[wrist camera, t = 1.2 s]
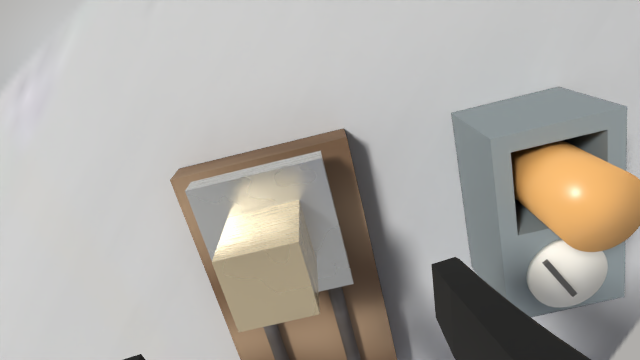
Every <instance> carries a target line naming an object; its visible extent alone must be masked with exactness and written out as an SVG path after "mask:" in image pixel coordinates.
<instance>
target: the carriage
mask: <svg viewBox="0 0 640 360" xmlns="http://www.w3.org/2000/svg"><path fill="white" fill-rule="evenodd" d="M185 193H186V195H187V198H188V200H189V203H190V206H191V208H192V211H193V214H194V216H195V219H196V221H197V224H198V227H199V229H200V232H201V234H202V237H203V240H204V242H205V245H206V247H207V250H208V253H209V255H210V258H211V260H212V265H213V267H214V270H215V272H216V275H217V278H218V280H219V283H220V285H221V288H222V291H223V293H224V296H225V298H226V301H227V304H228V306H229V309H230V311H231V314H232V317H233V319H234V322H235V324H236V327H237V330H238V332H243V331H247V330H252V329H256V328H261V327H265V326H270V325H274V324H279V323H283V322H288V321H292V320H296V319H301V318H305V317H310V316H314V315H319V314H320V306H319V292H320V291H324V290H329V289H333V288H338V287H342V286H346V285H351V284H354V283H353V278H352V273H351V269H350V265H349V261H348V257H347V253H346V249H345V245H344V241H343V237H342V233H341V229H340V225H339V221H338V217H337V213H336V209H335V205H334V201H333V197H332V193H331V189H330V185H329V181H328V177H327V173H326V169H325V165H324V161H323V157H322V153H321V151H317V152H312V153H308V154H304V155H300V156H296V157H292V158H288V159H284V160H279V161H275V162H271V163H267V164H263V165H259V166H255V167H251V168H247V169H242V170H238V171H234V172H230V173H226V174H222V175H218V176H214V177H209V178H205V179H201V180H197V181H193V182H191V183H190V184H189V186H188V187H187V189H186V190H185Z"/></svg>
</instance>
